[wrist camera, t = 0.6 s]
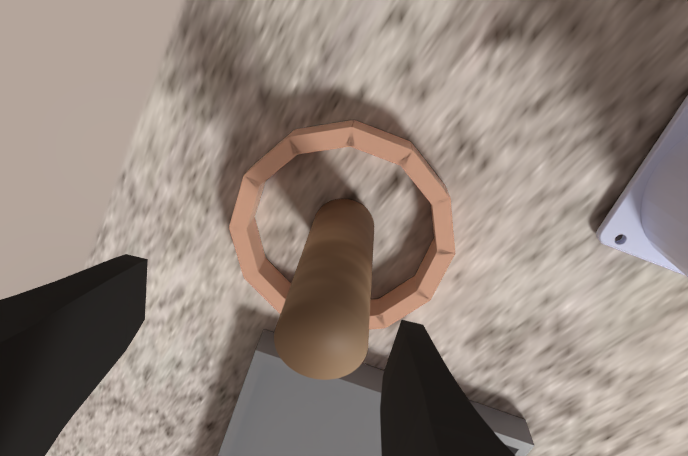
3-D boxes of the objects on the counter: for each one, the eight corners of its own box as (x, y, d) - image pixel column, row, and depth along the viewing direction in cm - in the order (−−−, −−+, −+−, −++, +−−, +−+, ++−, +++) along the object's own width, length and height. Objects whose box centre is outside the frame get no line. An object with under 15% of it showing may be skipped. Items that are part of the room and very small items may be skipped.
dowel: (383, 211, 22) (382, 322, 14) (361, 262, 24) (348, 391, 15) (325, 189, 22) (289, 289, 14) (305, 242, 23) (262, 361, 15)
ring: (486, 171, 21) (494, 181, 20) (399, 338, 25) (400, 356, 24) (274, 88, 20) (266, 94, 19) (220, 275, 25) (211, 290, 23)
